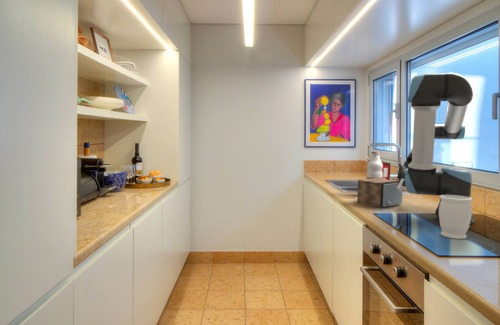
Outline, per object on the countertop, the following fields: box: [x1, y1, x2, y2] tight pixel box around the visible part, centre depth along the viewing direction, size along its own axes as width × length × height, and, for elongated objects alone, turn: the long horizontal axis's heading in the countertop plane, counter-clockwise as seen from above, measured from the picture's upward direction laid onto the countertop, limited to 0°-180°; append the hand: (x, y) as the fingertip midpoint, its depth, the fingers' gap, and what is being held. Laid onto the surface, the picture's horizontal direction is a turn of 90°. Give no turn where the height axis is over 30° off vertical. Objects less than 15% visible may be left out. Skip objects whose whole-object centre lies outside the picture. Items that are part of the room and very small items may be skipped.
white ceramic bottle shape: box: [366, 151, 383, 179], centre depth 209 cm, size 9×9×28 cm
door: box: [382, 183, 404, 208], centre depth 179 cm, size 3×18×12 cm, turn 127°
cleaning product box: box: [367, 160, 391, 180], centre depth 229 cm, size 16×9×20 cm, turn 179°
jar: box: [439, 195, 474, 240], centre depth 126 cm, size 11×10×15 cm
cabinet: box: [356, 178, 399, 209], centre depth 186 cm, size 14×17×13 cm
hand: (398, 189), depth 173 cm, fingers closed
